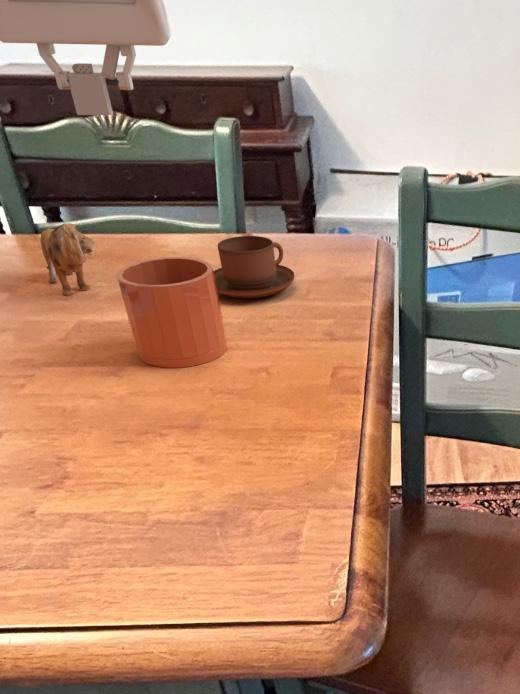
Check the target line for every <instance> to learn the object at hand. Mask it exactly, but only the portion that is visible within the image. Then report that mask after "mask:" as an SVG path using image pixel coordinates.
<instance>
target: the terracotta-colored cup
mask: <svg viewBox="0 0 520 694" xmlns="http://www.w3.org/2000/svg"><path fill="white" fill-rule="evenodd" d="M214 271H215V269H214V267H213V265H212V264H211V263H210V262H209V261H206V260H204V259H199V258H194V257H189V256H188V257H186V256H166V257H155V258H149V259H144V260H140V261H136V262H134V263H130V264H128V265H125V266H124V267H122V268H121V269H119V270H118V272H117V273H116V280H117V283H118V287H119V289H120V290H119V291H120V294H121V297H122V301H123V305H124V308H125V311H126V315H127V319H128V323H129V326H130V330H131V333H132V338H133V340H134V344H135V347H136V350H137V354H138V357H139V359H140V361H142V362H143V363H145V364H147V365H150V366H154V367H158V368H168V369H169V368H170V369H172V368H174V369H175V368H177V369H178V368H189V367H195V366H199V365H203V364H207V363H209V362H212V361H214V360H217V359H218V358H220V357H221V356H223V355H224V354H225V353H226V352H227V350H228V341H227V340H228V339H227V332H226V329H225V323H224V317H223V313H222V307H221V302H220V297H219V293H218V291H217V286H216V281H215V275H214Z"/></svg>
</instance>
